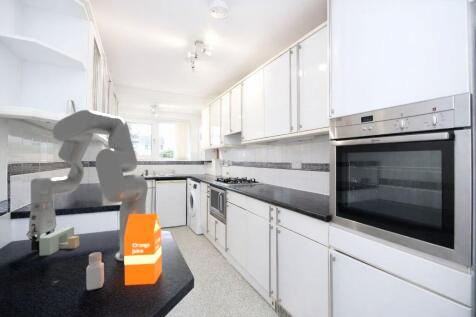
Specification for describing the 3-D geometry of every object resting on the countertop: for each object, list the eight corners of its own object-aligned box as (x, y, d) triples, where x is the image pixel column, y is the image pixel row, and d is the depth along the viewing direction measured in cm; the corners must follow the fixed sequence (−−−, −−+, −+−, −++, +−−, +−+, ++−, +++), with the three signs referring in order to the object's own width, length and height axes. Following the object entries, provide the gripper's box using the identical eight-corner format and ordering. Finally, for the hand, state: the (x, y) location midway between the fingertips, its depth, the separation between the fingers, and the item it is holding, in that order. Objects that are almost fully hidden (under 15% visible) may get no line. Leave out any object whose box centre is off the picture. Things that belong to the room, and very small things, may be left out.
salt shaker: (86, 291, 65) (85, 257, 65) (88, 284, 68) (88, 252, 69) (102, 288, 66) (101, 255, 67) (104, 281, 70) (103, 250, 70)
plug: (79, 245, 104) (79, 235, 104) (74, 248, 100) (74, 238, 100) (46, 247, 102) (46, 237, 102) (39, 250, 98) (39, 240, 98)
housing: (74, 241, 109) (73, 226, 109) (50, 254, 93) (50, 237, 93) (65, 242, 108) (64, 227, 109) (39, 255, 93) (39, 238, 93)
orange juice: (134, 272, 75) (133, 212, 76) (162, 271, 76) (160, 210, 76) (124, 285, 68) (123, 217, 68) (154, 283, 68) (153, 216, 69)
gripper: (36, 209, 92) (36, 254, 92) (64, 202, 109) (64, 239, 109) (16, 210, 91) (16, 255, 91) (47, 203, 109) (47, 240, 108)
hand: (42, 246), depth 100 cm, fingers open, 6 cm apart
